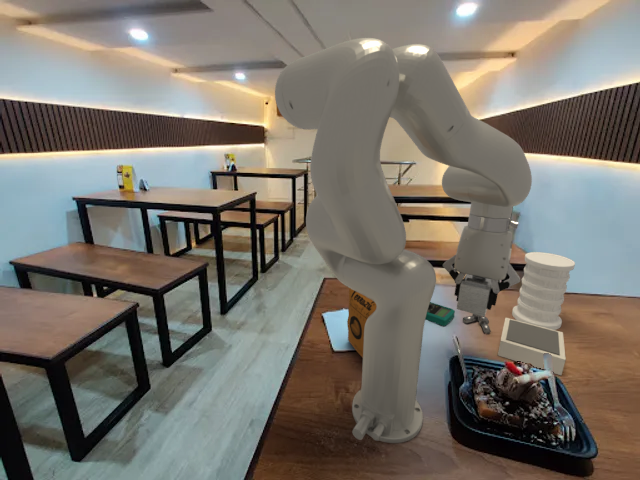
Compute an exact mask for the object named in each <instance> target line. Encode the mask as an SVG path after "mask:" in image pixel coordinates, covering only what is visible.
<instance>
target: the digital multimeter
mask: <svg viewBox="0 0 640 480" xmlns="http://www.w3.org/2000/svg"><path fill="white" fill-rule="evenodd" d="M455 312H456V311H455V310H454V309H453V308H450V307H448V306H445V305H441V304H437V303H435V302H432V301H430V304H429V307H428V310H427V314H426V318H425V321H426V320H427V321H429V322H432V323H434V324H436V325H439V326H442V327H446V326H447V325H449V324H450V323H451V322H452V320H453V319H454V317H455Z"/></svg>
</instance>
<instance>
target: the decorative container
mask: <svg viewBox="0 0 640 480" xmlns="http://www.w3.org/2000/svg"><path fill="white" fill-rule="evenodd" d="M524 262H525V263H526V264H525V266H524V268H523V273H524V274H523V276H522V278H521V286H520V288H519V297H518V298H517V305H515V306H513V307H512V312H511V315H512V317H513V318H514V320H517V321H521V322H525V323H529V324H532V325H536V326H540V327H544V328H548V329H552V330H556V331H557V330H559V329H560V328H561V327H562V323H563V320H562V318H561V317H560V316H559V315H561V313H562V306H561V305H562V304H564V301H565V296H564V295H565V293H566V292H567V289H568V288H567V287H568V285H567V282H569V280H570V278H571V277H570V276H571V274H570V271H573V270H575V266H576V261H574V260H572V259H571V258H568V257H566V256H563V255H559V254H555V253H549V252H543V251H540V252H539V251H538V252H537V251H531V252H527V253H525V255H524Z"/></svg>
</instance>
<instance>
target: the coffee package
mask: <svg viewBox="0 0 640 480" xmlns="http://www.w3.org/2000/svg"><path fill="white" fill-rule="evenodd" d="M376 308H377V306H376V303H375V302H374V301H372V300H371V299H369V298H367V297H366V296H364V295H362V294H360V293H358V292H356V291H354V290H352V289H351V288H349V287H348V309H347V311H348V318H347V319H346V322H347V333H348V334H347V336H348V337H347V341H348V342H349V343H350V345H351V346H352V347H353V349H354V350H355V351H356V352H357V353H358V355H360V357H361V358H362V359H363V346H364V327H365V323H366V321H367V319H368V317H369V316H370V315H371V314H372V313H373V312H374V311H375V310H376Z"/></svg>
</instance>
